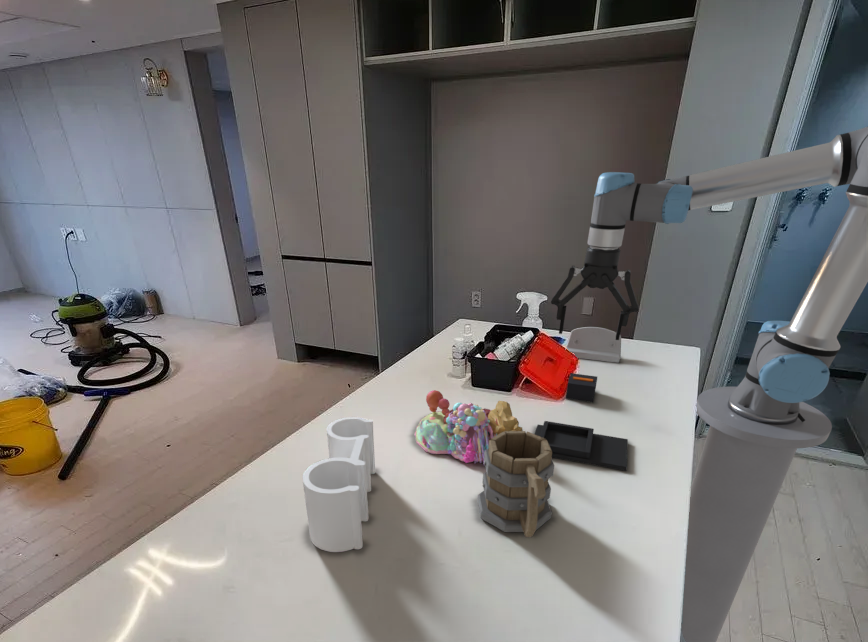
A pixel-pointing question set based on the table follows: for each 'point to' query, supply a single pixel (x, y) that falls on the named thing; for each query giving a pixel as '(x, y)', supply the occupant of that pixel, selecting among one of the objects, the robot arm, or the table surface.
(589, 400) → the black orange striped block
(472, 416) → the candy landscape model
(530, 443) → the tankard
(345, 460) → the bracket
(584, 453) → the base pad
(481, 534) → the table surface
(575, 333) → the grey upright panel
